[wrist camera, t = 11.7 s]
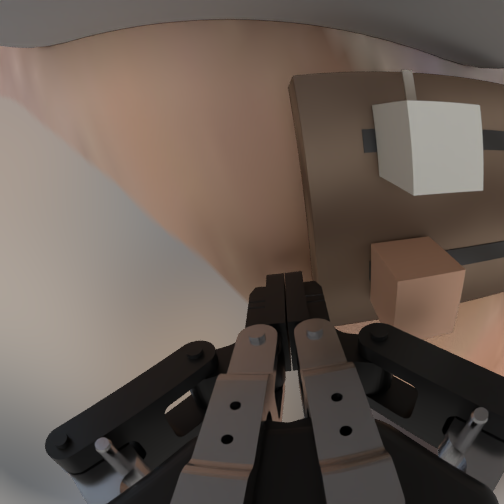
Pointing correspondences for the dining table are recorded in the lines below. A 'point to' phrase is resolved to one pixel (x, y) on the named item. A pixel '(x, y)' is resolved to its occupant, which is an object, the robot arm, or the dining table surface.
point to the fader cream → (430, 146)
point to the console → (390, 185)
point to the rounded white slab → (275, 9)
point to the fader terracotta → (416, 286)
